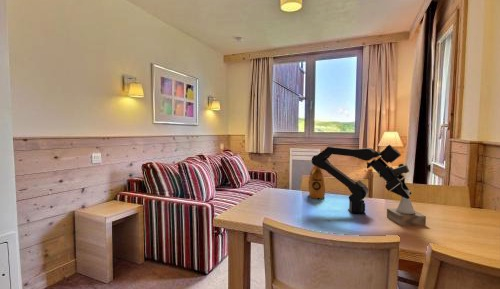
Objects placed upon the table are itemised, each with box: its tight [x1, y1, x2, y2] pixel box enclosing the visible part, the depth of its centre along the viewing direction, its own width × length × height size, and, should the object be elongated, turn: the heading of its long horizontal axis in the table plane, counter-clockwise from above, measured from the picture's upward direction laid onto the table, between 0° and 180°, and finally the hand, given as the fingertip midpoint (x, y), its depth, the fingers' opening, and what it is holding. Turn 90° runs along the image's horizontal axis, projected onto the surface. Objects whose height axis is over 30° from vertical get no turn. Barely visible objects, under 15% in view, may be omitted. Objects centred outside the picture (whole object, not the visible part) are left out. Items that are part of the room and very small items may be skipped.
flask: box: [396, 189, 416, 214], centre depth 118 cm, size 7×7×10 cm
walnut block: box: [386, 208, 427, 226], centre depth 118 cm, size 11×11×4 cm
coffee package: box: [308, 165, 326, 199], centre depth 161 cm, size 10×12×22 cm
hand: (409, 196), depth 117 cm, fingers open, 9 cm apart
